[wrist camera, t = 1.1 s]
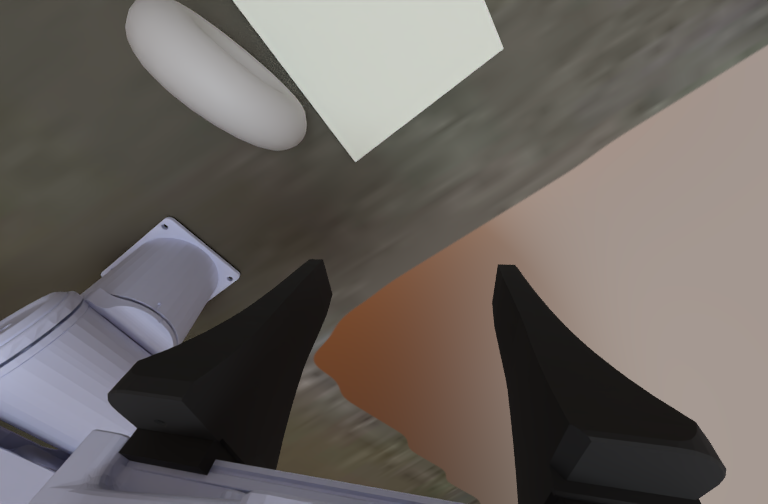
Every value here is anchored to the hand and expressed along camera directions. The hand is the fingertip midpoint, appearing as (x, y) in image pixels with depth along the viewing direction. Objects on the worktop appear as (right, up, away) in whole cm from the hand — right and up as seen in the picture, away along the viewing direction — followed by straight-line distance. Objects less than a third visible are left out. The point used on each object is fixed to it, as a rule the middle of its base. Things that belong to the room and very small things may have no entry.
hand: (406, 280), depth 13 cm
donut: (-11, +14, +10) cm, 20 cm away
